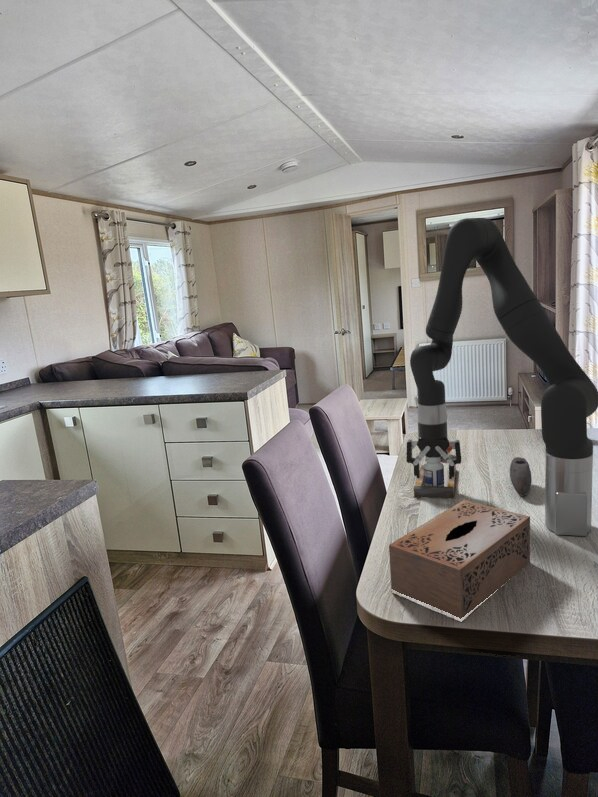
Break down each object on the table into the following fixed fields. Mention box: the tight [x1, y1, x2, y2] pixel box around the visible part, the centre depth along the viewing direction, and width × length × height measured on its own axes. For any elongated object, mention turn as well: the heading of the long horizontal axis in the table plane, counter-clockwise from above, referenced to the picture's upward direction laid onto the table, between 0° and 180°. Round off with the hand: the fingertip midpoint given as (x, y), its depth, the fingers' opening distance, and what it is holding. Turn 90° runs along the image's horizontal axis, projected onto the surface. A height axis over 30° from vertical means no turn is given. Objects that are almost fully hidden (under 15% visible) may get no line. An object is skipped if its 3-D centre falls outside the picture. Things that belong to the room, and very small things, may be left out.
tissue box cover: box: [388, 500, 531, 619], centre depth 105 cm, size 26×14×10 cm, turn 133°
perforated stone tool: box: [509, 456, 533, 497], centre depth 144 cm, size 15×5×7 cm, turn 161°
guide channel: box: [413, 464, 457, 499], centre depth 154 cm, size 22×10×2 cm, turn 163°
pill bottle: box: [423, 456, 445, 487], centre depth 149 cm, size 5×5×10 cm
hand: (434, 477), depth 149 cm, fingers open, 8 cm apart
